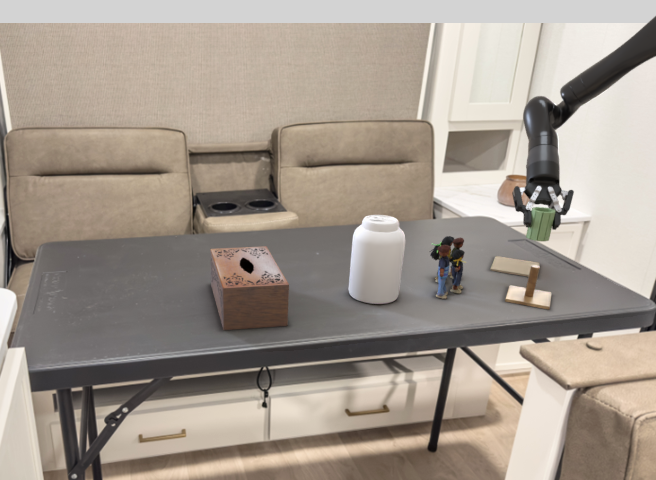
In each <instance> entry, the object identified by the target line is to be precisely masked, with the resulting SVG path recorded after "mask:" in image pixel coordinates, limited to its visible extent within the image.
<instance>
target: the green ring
mask: <svg viewBox="0 0 656 480" xmlns="http://www.w3.org/2000/svg"><path fill="white" fill-rule="evenodd" d="M531 211H532V215H531V225H530V227H529V228H527V229H526V234H525V238H526V239H528V240H531V241H534V242H548V241H550V237H551V232H552V225H553V220H554V216H555V210H553V209H551V208H548V207H546V206H535V207H534V206H532V208H531Z"/></svg>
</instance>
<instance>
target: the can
mask: <svg viewBox="0 0 656 480" xmlns="http://www.w3.org/2000/svg"><path fill="white" fill-rule="evenodd" d="M405 249H406V235H405V232H404V231H403V229H401V227H400V221H399V219H397V218H396V217H394V216H392V215H387V214H370V215H366V216H364V217H363V219H362V221H361V224H360V225H359V226H357V227H356V228H355V229H354V232H353V234H352V243H351V255H350V265H349V267H350V268H349V278H348V294H349V295H350V296H351V297H352V298H353V299H354V300H357V301H359V302H362V303H367V304H371V305H372V304H373V305H374V304H375V305H383V304H389V303H392V302H394V301H396V300H397V299H398V297H399V295H400V289H401V280H402V272H403V265H404V264H403V263H404V258H405V257H404V256H405Z"/></svg>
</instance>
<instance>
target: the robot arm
mask: <svg viewBox="0 0 656 480" xmlns="http://www.w3.org/2000/svg"><path fill="white" fill-rule="evenodd" d="M654 58H656V15H655V16H653V18H651V19H650V20H649V21H648V22H647V23H646V24H645V25H644V26H642V28H640V29H639V30H638V31H637V32H636V33H635V34H634V35H633V36H631V37H629V39H628V40H626V41H625V42H624V43H622V44H621V45H619V47H617V48H616V49H615V50H613V51H612V52H610V53H609V54H607V55H606V56H604V57H602V59H600V60H599V61H597V62H595V63H594V64H592V65H591V66H589V67H588V68H586V69H584V71H582V72H580V73H579V74H578V75H575V77H572V79H570V80H569V81H567V82H566V83H565V84H563V85H562V86H561V88H560V89H559V94H560V98H561V101H560V102H559V103H557V104H556V103H555V102H554V101H553V100H551V99H550V98H549V97H547V96H545V95H536V96H534V97H532V98H531V99H529V100H528V102H527V103H526V104H525V106H524V109H523V113H522V120H523V125H524V131H525V134H526V137H527V140H528V141H527V142H528V143H527V158H526V164H525V171H526V172H525V186H524V187H520V186H518V185H517V186H514V188H513V190H512V193H511V194H512V195H511V196H512V199H513V204H514V208H515V209H514V210H515V211H516V212H517V213H519V212H520V213H522V214H523V222H522V223H523V226H525V228H527V229H528V228H529V227H530V225H531V215H532V208H533V207H534V205H543V206H547V208H551V209H553V210H555V216H554V220H553V225H552V229H551V231H554V230H555V231H556V230H557V229H558V228H559V227H560V225H561V223H562V216H567V214H568V212H569V211H570V208H571V205H572V202H573V197H574V193H575V191H574V190H573V189H569V190H564V189H562V187H561V186H560V181H561V180H560V178H561V176H560V175H561V174H560V173H561V168H560V167H561V158H560V149H559V146H560V145H559V143H560V140H559V138H560V137H559V134H558V132H557V130H559V129H561V127H563V126H564V125H565V124H566V123H567V122H568V121H569V120H570V119H571V117H572V116H573V115H575V114H576V113H577V111H579V109H580V108H582V107H583V106H584V105H586V104H588V103H589V102H592V100H595V99H596V98H598V97H599V96H600V95H602V94H603V93H605V92H606V91H607V90H609V89H610V88H611V87H613V86H614V85H615V84H616V83H618V82H619V81H620V80H621V79H623V78H624V77H626V75H628V74H629V73H630V72H632V71H634V70H635V69H637V68H638V67H639V66H641V65H643V64H644V63H646V62H648V61H650V60H652V59H654ZM523 194H525V196H526V197H527V198H528V199H529V200H528V202H527V204H526V205H525V204H524V202H523ZM559 196H561V199H562V201H563V203H562V207H561V205H560V201H559Z"/></svg>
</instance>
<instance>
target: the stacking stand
mask: <svg viewBox="0 0 656 480" xmlns="http://www.w3.org/2000/svg"><path fill="white" fill-rule="evenodd" d="M540 268H541V267H540V265H539V266H537V265H531V268H530V273H529V277H527V282H526V286H525V287H523V286H516V285H511V284H509V286H508V289H507V292H506V296H505V298H504V302H506V303H511V304H517V305H521V306H528V307H534V308H539V309H544V310H547V311H549V310H550V307H551V302H552V301H551V300H552V292H551V291H546V290H540V289H536V286H537V281H538V277H539V272H540Z"/></svg>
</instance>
